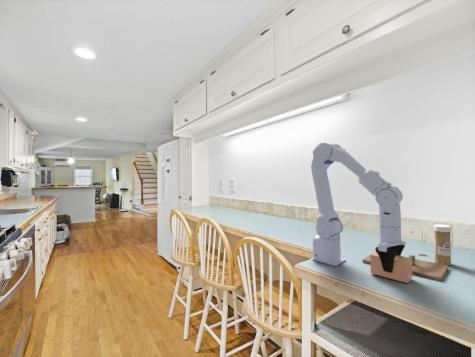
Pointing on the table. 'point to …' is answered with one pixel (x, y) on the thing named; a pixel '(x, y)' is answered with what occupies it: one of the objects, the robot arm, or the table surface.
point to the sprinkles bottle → (442, 244)
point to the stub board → (423, 268)
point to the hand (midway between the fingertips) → (390, 269)
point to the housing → (400, 268)
